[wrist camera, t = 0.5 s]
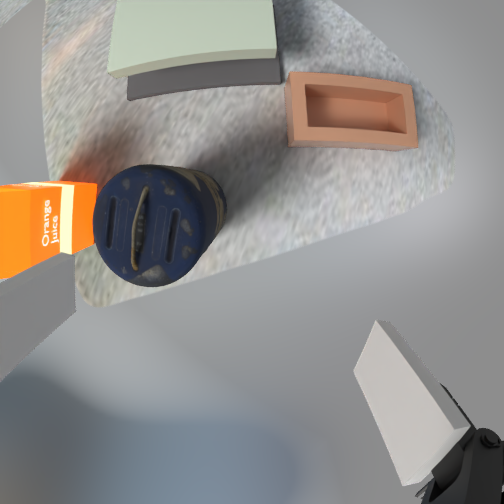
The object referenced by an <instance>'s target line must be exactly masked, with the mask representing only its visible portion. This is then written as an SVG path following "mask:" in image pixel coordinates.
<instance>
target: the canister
mask: <svg viewBox="0 0 504 504" xmlns="http://www.w3.org/2000/svg"><path fill="white" fill-rule="evenodd" d="M226 211H227V209H226V199H225V196H224V193H223V191H222V189H221V187H220V186H219V185H218V183H217V182H216V181H215V180H214V179H213V178H211V177H210V176H208V175H207V174H205V173H203V172H200V171H196V170H190V169H185V168H181V167H174V166H165V165H151V164H147V165H137V166H133V167H131V168H128V169H125V170H123V171H122V172H120V173H118V174H117V175H116V176H114V177H113V178H112V179H111V180H110V181H109V182H108V183H107V184H106V185H105V186H104V188H103V189H102V191H101V192H100V194H99V196H98V198H97V200H96V203H95V207H94V211H93V219H92V225H93V236H94V241H95V243H96V246H97V249H98V251H99V253H100V255H101V257H102V259H103V260H104V262H105V263H106V265H107V266H108V267H109V268H110V269H111V270H112V271H113V272H114V273H115V274H117V275H118V276H119V277H121V278H122V279H124V280H126V281H128V282H130V283H132V284H135V285H139V286H144V287H159V286H164V285H168V284H171V283H173V282H175V281H177V280H179V279H180V278H182V277H183V276H184V275H186V274H187V273H188V272H189V271H190V270H191V269H192V268H193V267H194V265H195V264H196V263H197V261H198V260H199V258H200V257H201V256H202V254H203V253H204V252H205V251H206V250H207V248H208V247H209V245H210V244H211V243H212V242H213V240H214V239H215V237H216V236H217V234H218V233H219V231H220V229H221V228H222V226H223V223H224V221H225V217H226Z"/></svg>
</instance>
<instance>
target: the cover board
mask: <svg viewBox="0 0 504 504" xmlns="http://www.w3.org/2000/svg"><path fill="white" fill-rule="evenodd" d="M276 51H277V45H276V34H275V24H274V14H273V4H272V0H118V1H117V5H116V10H115V15H114V21H113V27H112V33H111V40H110V48H109V57H108V67H107V73H108V74H110V75H111V76H113V77H114V78H116V79H118V78H122V77H126V76H130V75H134V74H139V73H143V72H148V71H153V70H158V69H163V68H169V67H175V66H181V65H188V64H195V63H203V62H212V61H223V60H237V59H258V58H275V56H276Z"/></svg>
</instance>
